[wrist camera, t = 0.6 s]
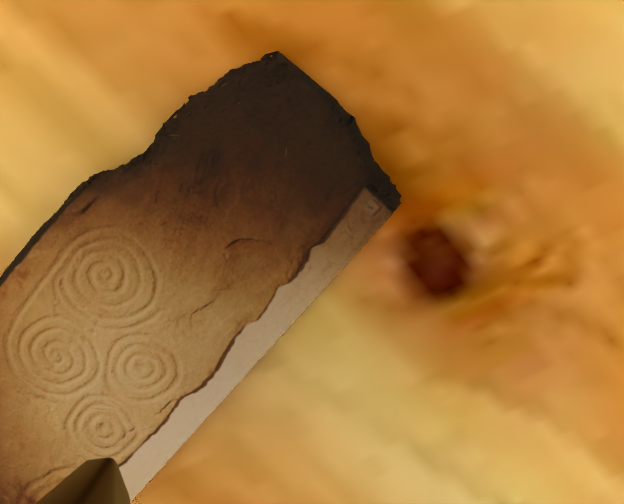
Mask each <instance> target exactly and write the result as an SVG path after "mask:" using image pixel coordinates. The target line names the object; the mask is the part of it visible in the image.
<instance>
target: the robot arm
mask: <svg viewBox="0 0 624 504" xmlns="http://www.w3.org/2000/svg"><path fill="white" fill-rule="evenodd" d="M35 504H130V497H129V494H128V491H127V488H126V485H125V483H124V480H123V477H122V475H121V472H120V469H119V466H118V464H117V462H116V461H115V460H114V459H113V458H110V457H106V458H98V459H90V460H87V461H85V462H84V463H83V464H81V465H80V466H79V467H78V468H77V469H75V470H74V471H73V472H72V473H71V474H70V475H68V476H67V477H66V478H65V479H64V480H62V481H61V482H60V483H59V484H58V485H57V486H55V487H54V488H53V489H52V490H51V491H50V492H48V493H47V494H46V495H45V496H44V497H43V498H41V499H40V500H39V501H38V502H37V503H35Z"/></svg>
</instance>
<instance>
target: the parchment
mask: <svg viewBox="0 0 624 504" xmlns="http://www.w3.org/2000/svg"><path fill="white" fill-rule="evenodd" d="M271 55H272V57H270V56H271ZM261 60H262V61H261ZM261 60H260V61H256V62H252V63H248V64H245V65H243V66H242V67H240V68H238V69H232V70H230V71H229V72H228V73H227V74H225V75H224V77H222V78H220V79H219V80H218V81H217V82H216V83H215V84H214V85H213V86H211V87H209V89H208V90H207V91H205V92H203V91H202V92H200V93H198V94H196V95H190V96H189V97H188V99H189V102H188V103H186V105H185V103H184V105H183V106H182V107H181V108H180V109H179V110H177V111H176V112H175V113H174V114H173V115H172V116H171V117H170V118H169V119H168V120H167V121H166V122H165V123H163V126H162V128H161V129H160V130H159V131H158V133H157V134H156V135H155V140H154V142H153V143H152V144H151V145H150V146H149V147H148V149H147V150H146V151H145V152H144V153H143V154H141V155H138V156H137V157H135V158H133V159H132V160H131V161H130V162H129V163H128V164H126V165H124V164H123V165H120V166H119V167H118V168H116V169H115V170H107V171H102V172H100V173H98V174H94V175H93V176H91V177H89V179H88V180H87V181H86V182H82V183H81V184H80V185H79V186H78V187H77V188H76V190H75V191H73V192H72V193H71V194H70V196H69V197H68V199H67V200H66V201H65V202H64V204H63V205H62V206H61V207H60V209H59V210H58V211H57V212H56V213H54V215H53V216H52V217H51V218H50V219H49V220H48V221H47V222H45V223H44V224H43V226H41V227H40V229H39V230H38V231H37V232H36V233H35V235H34V236H33V237H32V238H31V239H30V241H29V242H28V243H27V244H26V246H25V247H24V248H23V249H22V251H21V252H20V253H19V254H18V255H17V256H16V257H15V260H14V261H13V262H12V263H11V264H10V265H9V266H8V268H7V269H6V270H5V271H4V272H3V275H2V276H1V277H0V504H35V503H37V502H38V501H39V500H40V499H41V498H43V497H44V496H45V495H46V494H47V493H48V492H50V491H51V490H52V489H53V488H54V487H55V486H57V485H58V484H59V483H60V482H61V481H62V480H64V479H65V478H66V477H67V476H68V475H70V474H71V473H72V472H73V471H74V470H75V469H77V468H78V467H79V466H80V465H81V464H83V463H84V462H85V461H87V460H90V459H98V458H106V457H110V458H113V459H114V460H115V461H116V462H117V464H118V466H119V469H120V472H121V475H122V477H123V480H124V483H125V485H126V488H127V491H128V494H129V497H130V503H131V502H132V500H133V499H134V498H135V497H136V496H137V495H138V494H139V492H140V491H141V490H142V489H143V488H144V487H145V486H146V485H147V483H148V482H150V481H151V480H152V478H153V477H154V476H155V474H156V473H157V472H158V471H159V470H160V469H161V468H162V467H163V466H164V465H165V464H166V462H167V461H168V460H169V459H170V458H171V457H172V456H173V455H174V454H175V453H176V451H177V450H178V449H179V448H180V447H181V446H182V445H183V444H184V443H185V441H186V440H188V439H189V437H190V435H192V434H193V433H194V432H195V431H196V430H197V428H198V427H199V426H200V425H201V424H202V423H203V422H204V421H205V419H206V418H207V417H208V416H209V415H210V414H211V413H212V412H213V411H214V410H215V409H216V407H217V405H219V404H220V403H221V402H222V401H223V400H224V399H225V398H226V397H227V396H228V395H229V394H230V392H231V391H232V389H234V388H235V387H236V386H237V385H238V384H239V382H240V381H241V380H242V379H243V378H244V377H245V376H246V374H247V373H248V372H249V371H250V370H251V369H252V367H254V366H255V365H256V364H257V363H258V361H259V359H260V358H262V357H263V356H264V355H265V353H266V352H267V351H268V350H269V349H270V348H271V347H272V346H273V345H274V344H275V343H276V342H277V340H278V339H279V338H280V337H281V336H282V335H283V334H284V333H285V332H286V330H287V329H288V328H289V327H290V326H291V325H292V324H293V323H294V322H295V321H296V319H297V318H298V317H299V316H300V315H301V314H302V313H303V312H304V311H305V310H306V309H307V307H308V306H309V305H310V304H311V303H312V302H313V300H315V299H316V298H317V296H318V295H319V294H320V293H321V292H322V291H323V290H324V289H325V288H326V286H327V285H328V284H330V283H331V281H332V280H333V279H334V278H335V277H336V276H337V274H338V273H339V272H340V271H341V270H342V269H343V268H344V267H345V266H346V265H347V263H348V262H349V261H350V260H351V259H352V258H353V257H354V256H355V255H356V254H357V253H358V251H359V250H360V249H361V248H362V247H363V246H364V245H365V244H366V243H367V242H368V240H369V239H370V238H371V237H372V236H373V235H374V234H375V233H376V231H377V230H378V229H379V228H380V227H381V226H382V225H383V223H384V222H385V221H386V220H387V219H388V218H389V217H390V216H391V215H392V214H393V212H394V211H395V210H396V209H397V208H398V206H399V205H400V204H401V202H400V200H399V199H400V198H401V195H400V194H399V192H398V191H397V190H396V185H394V184H392V182H391V181H390V177H389V176H388V175H387V174H385V173H384V172H383V171H382V170H381V168H380V167H379V165H378V164H377V163H376V162H375V161H374V159H373V157H372V154H371V151H370V145H369V143H368V142H367V141H366V140H365V139H364V138H363V136H362V135H361V132H360V130H359V128H358V126H357V124H356V121H355V118H354V117H353V116H351V115H350V114H349V113H347V112H346V111H345V110H344V109H343V108H342V107H341V106H340V104H339V103H338V101H337V100H336V99H335V98H334V97H333V96H332V95H330V94H329V93H328V92H327V91H326V90H324V89H323V88H322V87H321V86H319V85H318V84H317V83H316V82H315V81H314V80H312V79H311V78H310V77H309V76H308V75H307V74H306V73H304V72H303V71H302V70H301V69H299V68H298V67H297V66H296V65H294V64H293V63H292V62H291V61H289V60H288V59H287V58H286V57H285V56H284V55H283V54H281V53H280V52H279V51H276V52H272V53H269V54H265V55H264V56H263V57H262V58H261ZM176 114H177V118H176V119H175V118H173V117H174V116H175V115H176Z"/></svg>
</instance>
